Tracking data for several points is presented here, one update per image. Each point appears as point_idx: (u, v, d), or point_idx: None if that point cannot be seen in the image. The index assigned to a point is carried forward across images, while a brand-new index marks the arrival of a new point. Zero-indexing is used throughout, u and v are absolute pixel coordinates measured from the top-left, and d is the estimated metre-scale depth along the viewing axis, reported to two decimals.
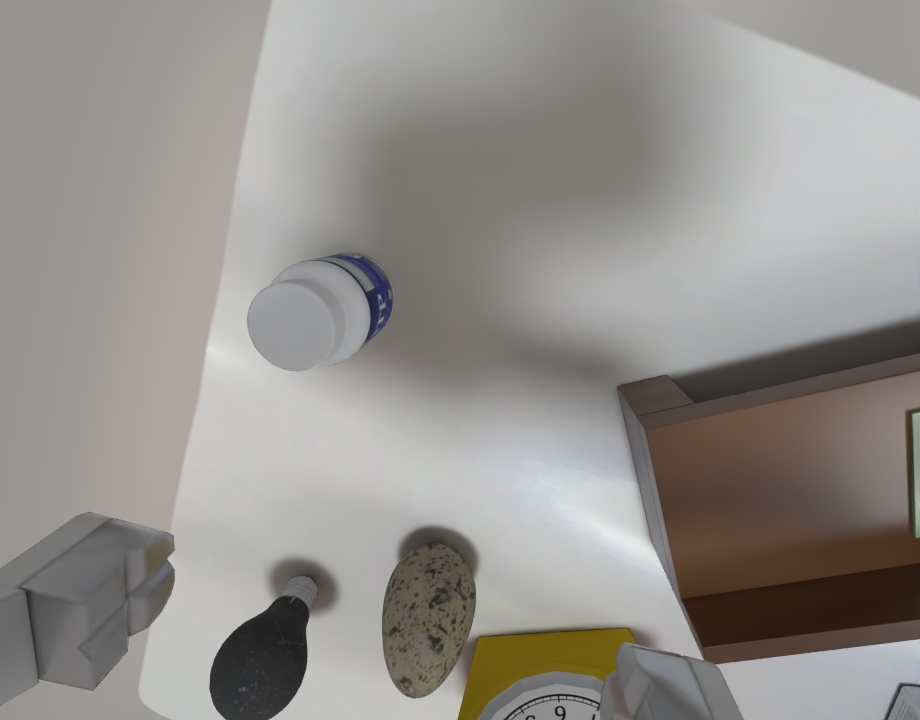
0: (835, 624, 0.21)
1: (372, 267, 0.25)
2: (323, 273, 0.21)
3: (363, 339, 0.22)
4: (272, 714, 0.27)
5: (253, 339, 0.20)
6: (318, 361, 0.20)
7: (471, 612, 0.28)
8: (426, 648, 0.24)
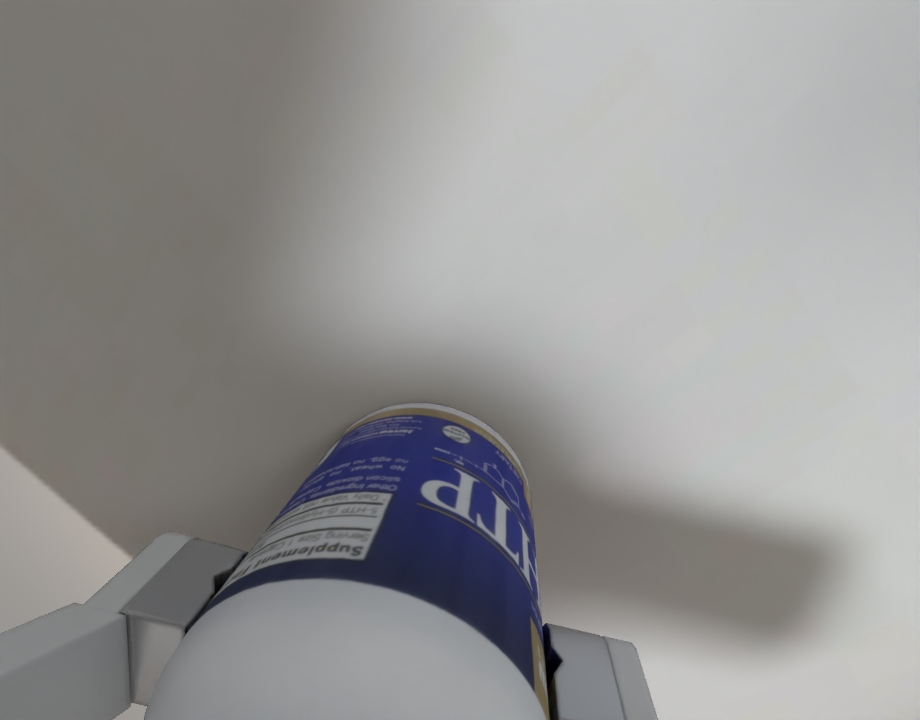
0: None
1: (366, 438, 0.09)
2: (183, 701, 0.05)
3: (517, 701, 0.05)
4: None
5: None
6: None
7: None
8: None
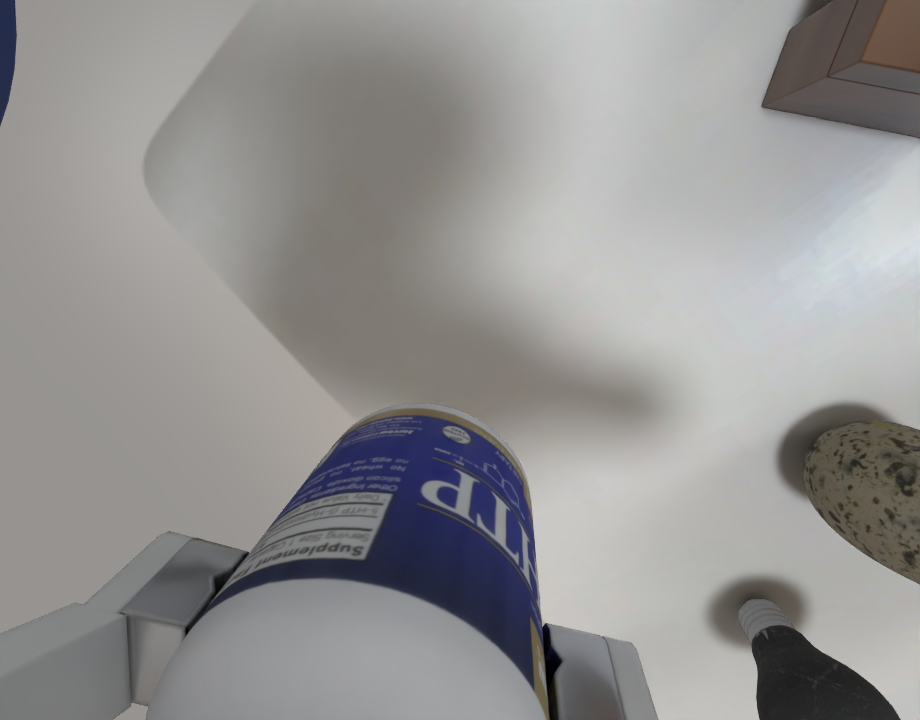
0: None
1: (366, 438, 0.09)
2: (184, 700, 0.05)
3: (517, 700, 0.05)
4: None
5: None
6: None
7: None
8: None
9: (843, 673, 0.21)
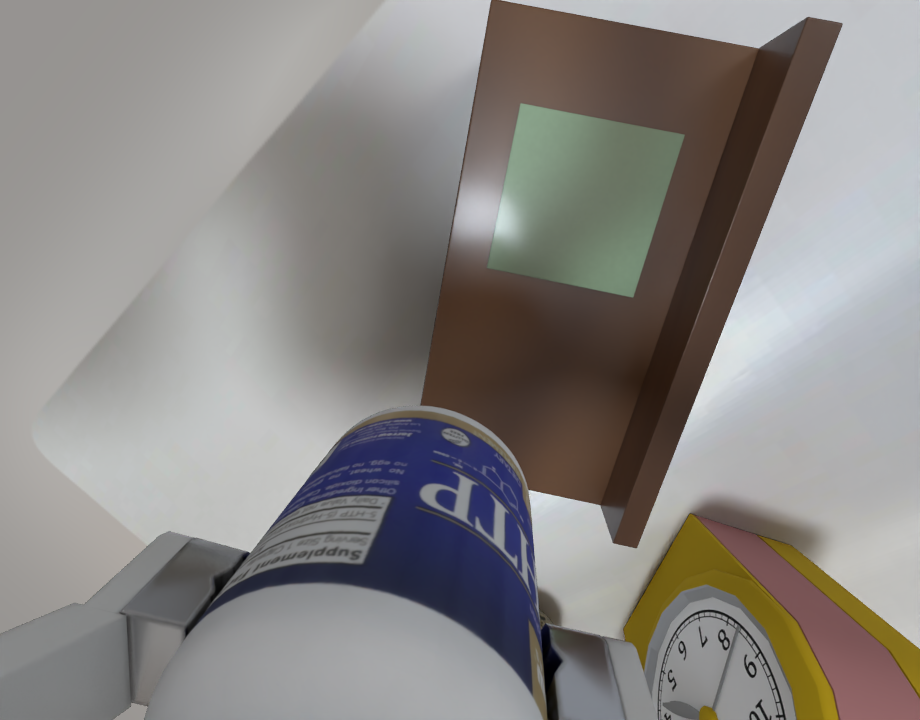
0: (651, 429, 0.20)
1: (365, 441, 0.09)
2: (182, 705, 0.05)
3: (515, 705, 0.05)
4: None
5: None
6: None
7: None
8: None
9: None
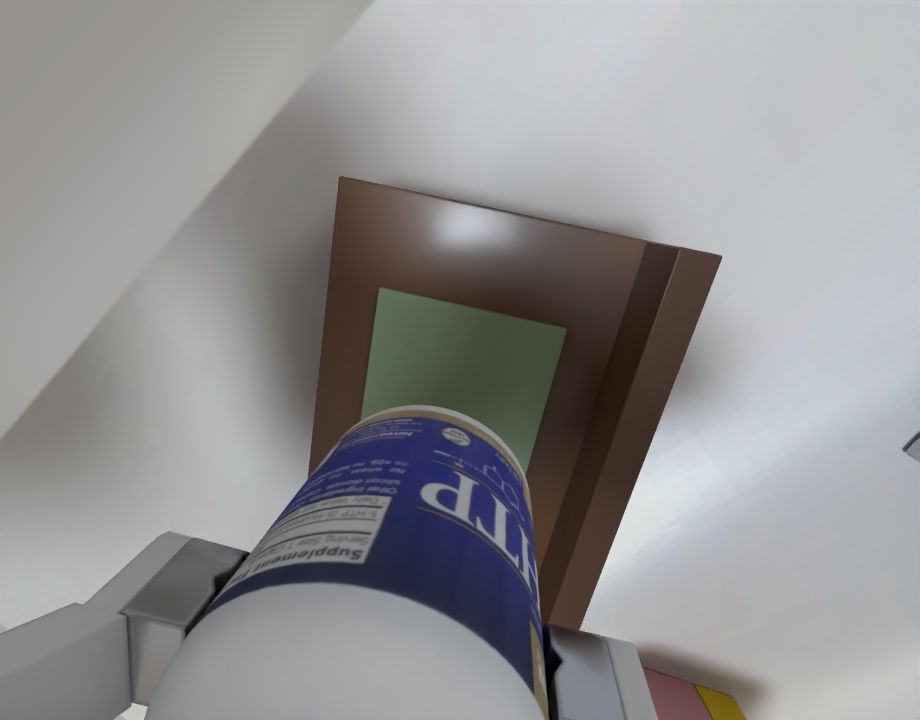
0: None
1: (365, 440, 0.09)
2: (182, 705, 0.05)
3: (517, 705, 0.05)
4: None
5: None
6: None
7: None
8: None
9: None
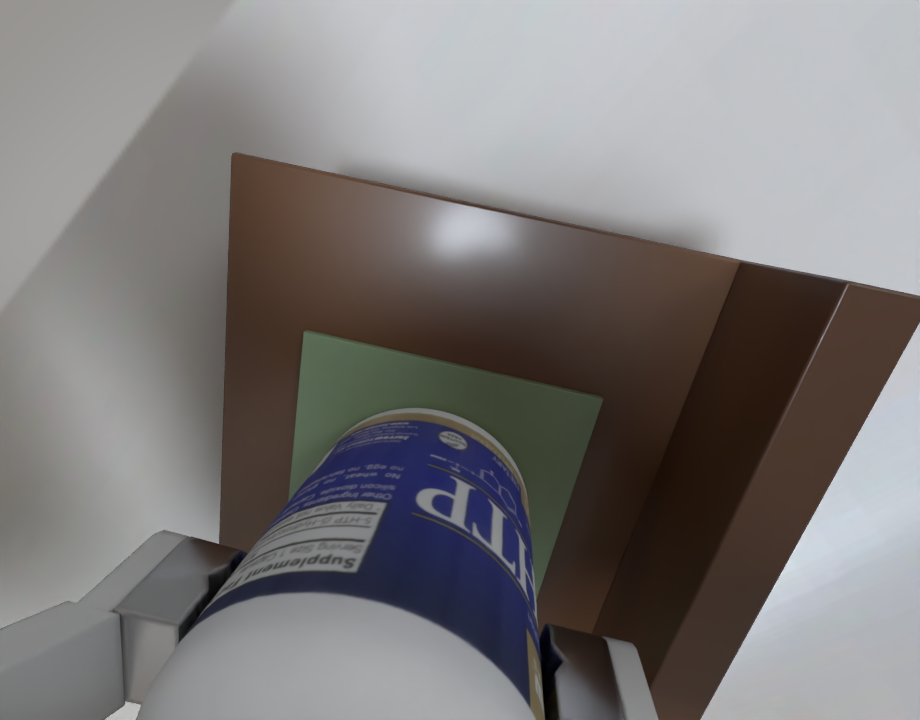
0: None
1: (361, 444, 0.09)
2: (170, 718, 0.05)
3: (512, 718, 0.05)
4: None
5: None
6: None
7: None
8: None
9: None
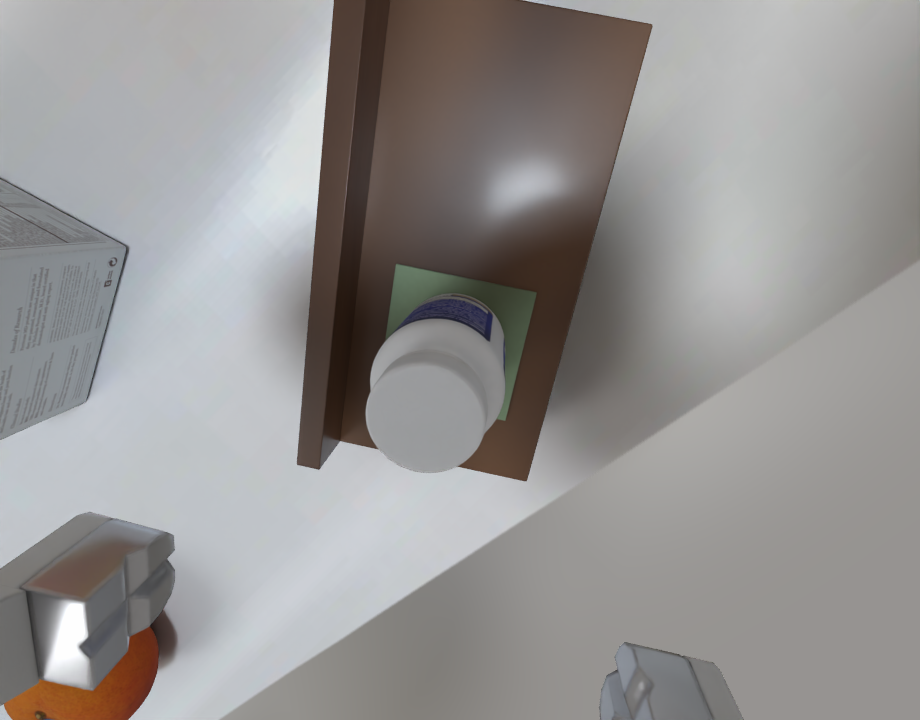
0: (356, 128, 0.18)
1: None
2: None
3: None
4: None
5: (434, 368, 0.14)
6: (370, 426, 0.15)
7: None
8: None
9: None
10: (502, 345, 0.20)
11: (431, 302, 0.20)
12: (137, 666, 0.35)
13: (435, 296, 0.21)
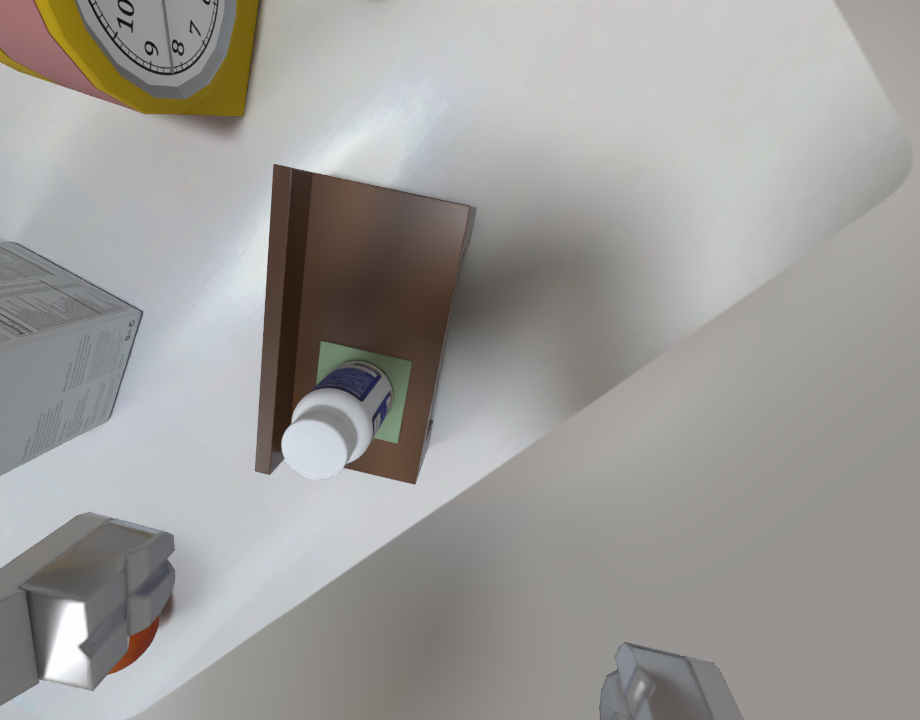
0: (287, 268, 0.29)
1: None
2: (353, 457, 0.28)
3: None
4: None
5: (316, 422, 0.25)
6: (284, 453, 0.26)
7: None
8: None
9: None
10: (382, 398, 0.31)
11: (338, 370, 0.31)
12: None
13: (345, 363, 0.33)
